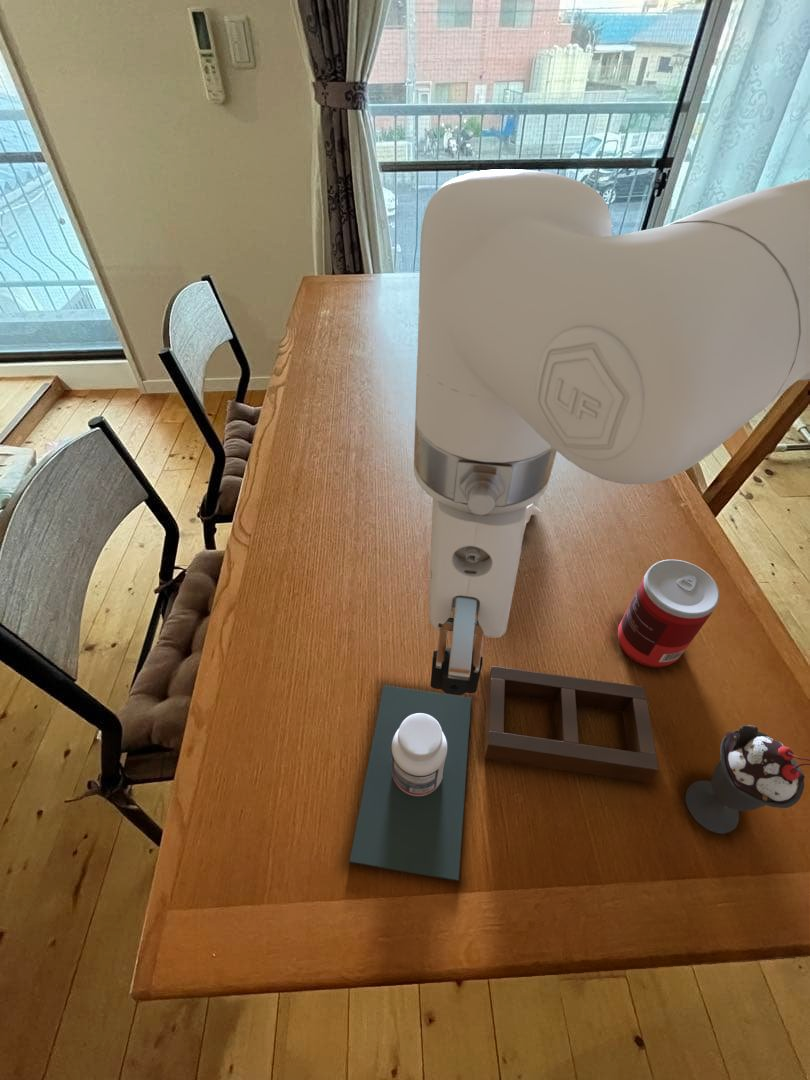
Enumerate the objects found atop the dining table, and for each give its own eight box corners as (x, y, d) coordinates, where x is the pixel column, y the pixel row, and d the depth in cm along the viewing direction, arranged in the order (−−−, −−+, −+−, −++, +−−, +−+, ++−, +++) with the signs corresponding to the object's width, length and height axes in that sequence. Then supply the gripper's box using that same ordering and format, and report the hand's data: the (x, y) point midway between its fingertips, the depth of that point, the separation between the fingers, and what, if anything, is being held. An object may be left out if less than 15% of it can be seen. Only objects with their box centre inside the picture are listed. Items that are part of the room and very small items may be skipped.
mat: (458, 881, 50) (458, 880, 50) (349, 862, 51) (349, 861, 50) (471, 699, 62) (471, 697, 62) (383, 686, 63) (383, 684, 63)
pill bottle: (411, 735, 59) (413, 695, 52) (453, 764, 57) (461, 725, 50) (381, 777, 56) (380, 739, 49) (424, 808, 54) (429, 774, 47)
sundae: (751, 854, 52) (847, 798, 41) (676, 828, 53) (749, 768, 42) (746, 785, 56) (831, 718, 45) (676, 763, 58) (743, 693, 47)
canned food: (688, 634, 69) (727, 577, 61) (670, 682, 64) (710, 627, 56) (628, 605, 72) (658, 548, 64) (606, 649, 67) (635, 593, 59)
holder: (646, 783, 56) (658, 770, 54) (484, 758, 58) (488, 744, 55) (634, 702, 62) (644, 686, 60) (487, 681, 64) (491, 665, 61)
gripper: (564, 577, 24) (506, 747, 36) (547, 372, 35) (508, 552, 48) (390, 558, 24) (392, 731, 37) (431, 363, 36) (422, 543, 48)
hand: (458, 630), depth 42 cm, fingers open, 9 cm apart
